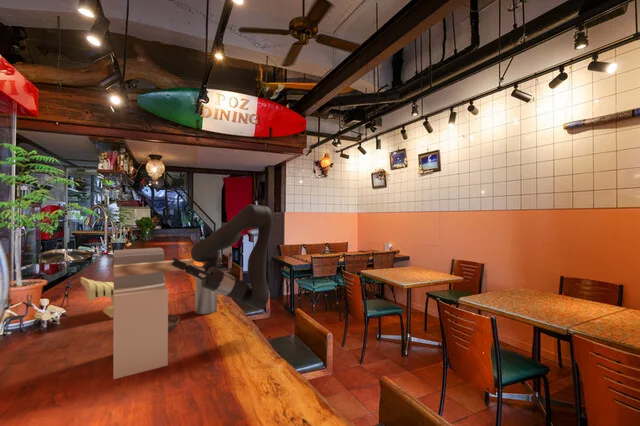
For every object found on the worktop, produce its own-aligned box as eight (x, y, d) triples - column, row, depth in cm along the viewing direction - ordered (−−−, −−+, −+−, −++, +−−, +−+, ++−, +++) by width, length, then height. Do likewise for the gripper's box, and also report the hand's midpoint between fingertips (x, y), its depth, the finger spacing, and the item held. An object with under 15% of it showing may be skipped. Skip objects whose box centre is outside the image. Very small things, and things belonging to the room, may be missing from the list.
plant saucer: (120, 332, 119) (120, 325, 119) (160, 318, 135) (161, 311, 135) (150, 341, 112) (150, 333, 111) (189, 325, 127) (189, 318, 127)
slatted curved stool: (89, 325, 126) (90, 282, 125) (80, 316, 136) (80, 276, 136) (164, 307, 148) (164, 271, 148) (151, 301, 159) (152, 267, 159)
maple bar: (191, 267, 103) (191, 258, 103) (193, 268, 101) (193, 260, 101) (113, 275, 91) (113, 265, 91) (113, 277, 88) (113, 266, 88)
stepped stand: (160, 343, 109) (160, 247, 109) (167, 365, 94) (168, 253, 94) (113, 354, 101) (113, 249, 101) (113, 379, 86) (114, 257, 86)
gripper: (218, 268, 114) (175, 248, 105) (230, 275, 103) (182, 253, 94) (208, 287, 112) (163, 268, 103) (219, 295, 100) (169, 275, 92)
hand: (172, 261), depth 99 cm, fingers closed on maple bar, 3 cm apart
